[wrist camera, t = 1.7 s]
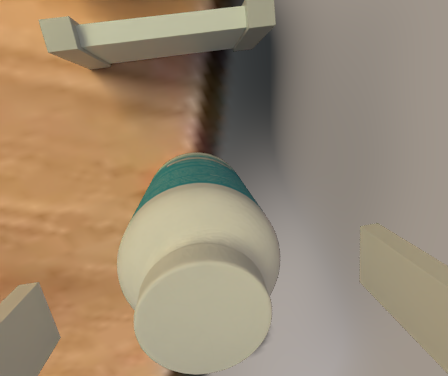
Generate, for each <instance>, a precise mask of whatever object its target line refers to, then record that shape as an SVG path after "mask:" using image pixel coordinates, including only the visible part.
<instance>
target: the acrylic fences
mask: <svg viewBox="0 0 448 376" xmlns="http://www.w3.org/2000/svg"><path fill="white" fill-rule="evenodd" d="M39 23H40V27H41V30H42V33H43V37H44V40H45V44H46V47H47V50H48V53H51V54H53V55H56V56H58V57H61V58H63V59H66V60H68V61H70V62H73V63H75V64H78V65H80V66H83V67H85V68H88V69H90V70H92V69H99V68H107V67H111V65H110V64H114V63H121V62H129V61H137V60H145V59H153V58H161V57H169V56H177V55H185V54H193V53H201V52H209V51H217V50H225V49H233V52H234V51H242V50H249V49H253V48H254V47H255V46H256V45H257V44H258V42H260V41H261V40H262V39H263V37H264V36H265V35H266V34H267V33H268V32H269V31H270V30H271V29H272V28H273V27H274V26H275V25H276V23H275V8H274V0H244V2H243V4H242V6H238V7H229V8H220V9H211V10H203V11H194V12H185V13H176V14H168V15H159V16H150V17H141V18H133V19H124V20H115V21H106V22H98V23H89V24H80V25H79V24H78V23H77V22H76V21H74V20H73V19H72V18H70V17H69V16H68V17H59V18H50V19H41V20H39Z"/></svg>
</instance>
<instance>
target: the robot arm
mask: <svg viewBox="0 0 448 376" xmlns="http://www.w3.org/2000/svg"><path fill="white" fill-rule="evenodd" d="M360 283H361V284H362V285H363V286H364V287H365V288H366V289H367V290H368V291H369V292H370V293H371V294H372V295H373V296H374V298H375V299H376V300H377V301H379V303H380V304H381V305H382V306H383V307H384V308H385V309H386V310H387V311H388V312H389V313H390V314H391V315H392V316H393V317H394V318H395V319H396V320H397V321H398V323H399V324H400V325H401V326H402V327H403V328H404V329H405V330H406V331H407V332H408V333H409V334H410V335H411V336H412V337H413V338H414V339H415V340H416V341H417V342H418V343H419V344H420V345H421V346H422V348H424V350H425V351H426V352H427V353H428V354H429V355H430V356H431V357H432V358H433V359H434V360H435V361H436V362H437V363H438V364H439V365H440V366H441V367H442V368H443V369H444V370H445V371H446V373H447V374H448V266H447V265H445V264H444V263H442V262H440V261H439V260H437V259H435V258H434V257H432V256H430V255H429V254H427V253H426V252H424V251H422V250H421V249H419V248H417V247H416V246H414V245H413V244H411V243H409V242H407V241H406V240H404V239H403V238H401V237H399V236H398V235H396V234H395V233H393V232H391V231H390V230H388V229H386V228H385V227H383V226H381V225H380V224H378V223H376V224H370V225H364V226H360ZM60 338H61V337H60V335H59V332H58V330H57V327H56V325H55V322H54V319H53V317H52V314H51V312H50V309H49V307H48V304H47V302H46V299H45V297H44V294H43V292H42V289H41V287H40V284H39V282H35V283H30V284H24V285H18V286H17V287H16V288H15V289H14V290H13V291H12V292H11V293H10V294H9V295H8V296H7V297H6V298H5V299H4V300H3V301H2V302H1V303H0V376H38V374H39V373H40V371H41V369H42V368H43V366H44V364H45V363H46V361H47V359H48V358H49V356H50V354H51V353H52V351H53V349H54V348H55V346H56V344H57V343H58V341H59V339H60Z"/></svg>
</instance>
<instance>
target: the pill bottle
mask: <svg viewBox="0 0 448 376" xmlns="http://www.w3.org/2000/svg"><path fill="white" fill-rule="evenodd" d="M279 267H280V249H279V243H278V240H277V236H276V233H275V231H274V229H273V226H272V225H271V223H270V222H269V220H268V218H267V217H266V215H265V214H264V212H263V211H262V209H261V208H260V206H259V205H258V204H257V202H256V201H255V199H254V198H253V197H252V195H251V194H250V192H249V191H248V189H247V188H246V186H245V185H244V184H243V182H242V181H241V179H240V178H239V176H238V175H237V174H236V172H235V171H234V170H233V169H232V167H231V166H229V165H228V164H227V163H226V162H225V161H223V160H222V159H220V158H218V157H216V156H213V155H210V154H206V153H187V154H183V155H179V156H177V157H175V158H173V159H171V160H169V161H168V162H167V163H165V164H164V165H163V166H162V167H161V168H160V169H159V170H158V172H157V173H156V174H155V176H154V178H153V180H152V182H151V183H150V185H149V187H148V189H147V191H146V193H145V195H144V196H143V198H142V200H141V202H140V204H139V206H138V208H137V209H136V211H135V213H134V215H133V217H132V219H131V221H130V223H129V224H128V226H127V228H126V231H125V233H124V235H123V237H122V240H121V243H120V246H119V250H118V257H117V273H118V278H119V283H120V286H121V289H122V292H123V294H124V296H125V298H126V299H127V301H128V303H129V304H130V305H131V307H132V308H133V309H134V310H135V313H134V331H135V335H136V338H137V340H138V342H139V344H140V346H141V348H142V349H143V351H144V352H145V353H146V354H147V355H148V356H149V357H150V358H151V359H152V360H153V361H155V362H156V363H158V364H159V365H161V366H163V367H165V368H167V369H170V370H173V371H176V372H180V373H185V374H208V373H214V372H218V371H221V370H225V369H227V368H230V367H232V366H234V365H236V364H238V363H240V362H242V361H243V360H245V359H246V358H247V357H249V356H250V355H251V354H252V353H253V352H254V351H255V350H256V349H257V348H258V347H259V346H260V344H261V343H262V342H263V340H264V339H265V337H266V335H267V333H268V331H269V328H270V324H271V319H272V306H271V299H270V295H271V293H272V291H273V289H274V286H275V284H276V281H277V278H278V274H279Z"/></svg>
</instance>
